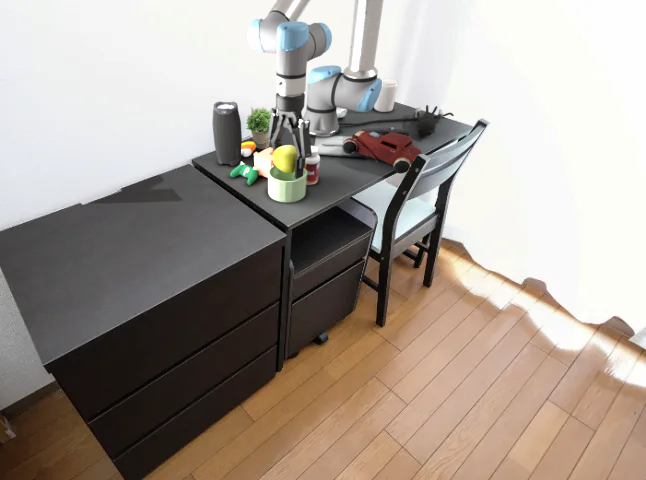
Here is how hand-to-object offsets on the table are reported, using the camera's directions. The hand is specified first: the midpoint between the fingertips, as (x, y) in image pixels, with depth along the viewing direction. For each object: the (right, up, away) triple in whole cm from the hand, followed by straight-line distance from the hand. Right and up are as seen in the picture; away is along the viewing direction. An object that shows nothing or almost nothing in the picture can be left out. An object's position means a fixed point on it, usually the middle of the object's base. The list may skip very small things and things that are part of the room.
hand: (287, 170), depth 113 cm
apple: (0, 0, 0) cm, 1 cm away
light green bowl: (0, -6, +5) cm, 7 cm away
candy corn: (-12, +16, +27) cm, 34 cm away
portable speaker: (-19, +8, +21) cm, 29 cm away
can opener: (+39, +18, +31) cm, 53 cm away
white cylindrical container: (+47, +40, +55) cm, 82 cm away
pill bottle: (+7, -1, +10) cm, 12 cm away
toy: (+65, +39, +50) cm, 91 cm away
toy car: (+34, +8, +19) cm, 40 cm away
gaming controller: (-13, 0, +12) cm, 18 cm away
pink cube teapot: (-5, +2, +14) cm, 15 cm away
